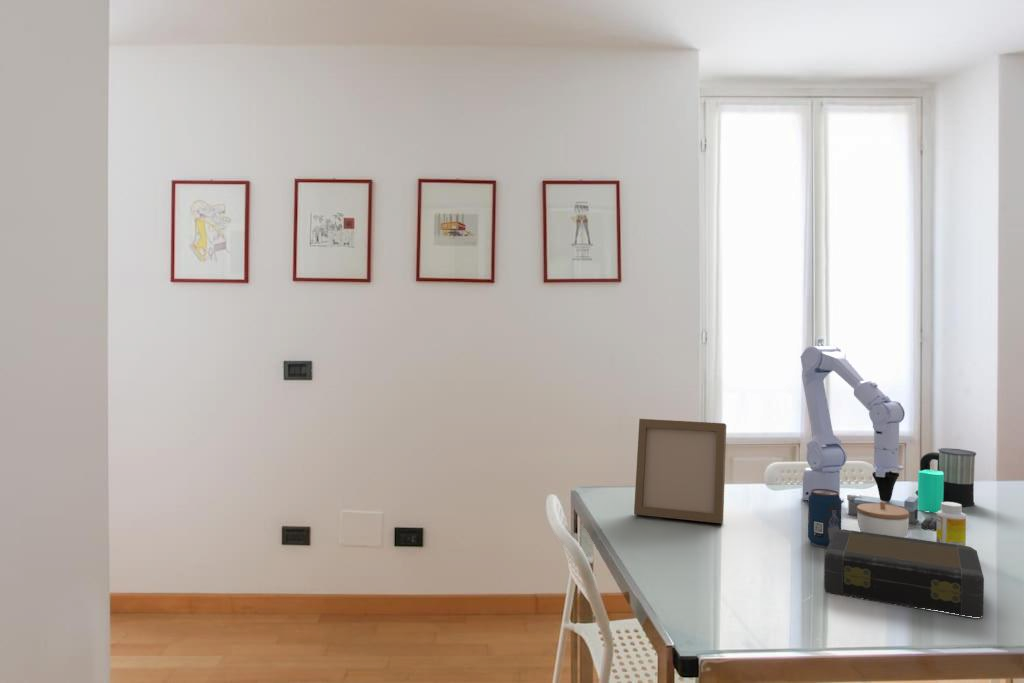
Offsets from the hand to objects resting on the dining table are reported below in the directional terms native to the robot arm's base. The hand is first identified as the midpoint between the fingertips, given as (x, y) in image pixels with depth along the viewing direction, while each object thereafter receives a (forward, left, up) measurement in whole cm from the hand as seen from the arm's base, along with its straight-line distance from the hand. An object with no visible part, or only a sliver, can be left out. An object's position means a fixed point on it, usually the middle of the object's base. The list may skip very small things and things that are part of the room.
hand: (885, 500), depth 184 cm
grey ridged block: (+11, 0, -3) cm, 12 cm away
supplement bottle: (+17, -20, -5) cm, 27 cm away
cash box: (+13, -54, -5) cm, 55 cm away
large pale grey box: (0, 0, -4) cm, 5 cm away
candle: (+8, +16, -5) cm, 19 cm away
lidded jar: (+4, -24, -5) cm, 25 cm away
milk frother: (+10, +27, -5) cm, 30 cm away
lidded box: (-1, 0, -1) cm, 2 cm away
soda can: (-6, -34, -5) cm, 35 cm away
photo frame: (-42, -32, -5) cm, 53 cm away
